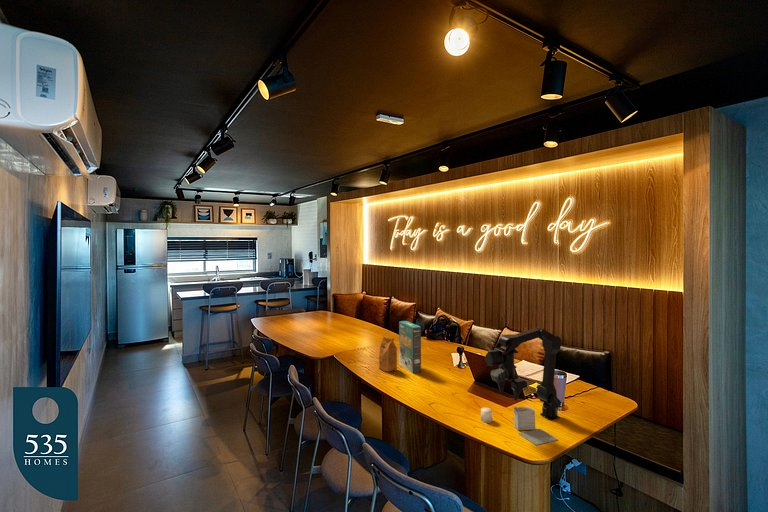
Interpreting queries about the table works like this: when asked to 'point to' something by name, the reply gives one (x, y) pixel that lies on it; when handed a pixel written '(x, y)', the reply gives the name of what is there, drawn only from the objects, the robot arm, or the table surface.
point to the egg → (486, 415)
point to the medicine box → (524, 418)
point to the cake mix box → (410, 346)
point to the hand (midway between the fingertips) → (508, 396)
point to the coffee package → (387, 355)
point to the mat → (538, 436)
